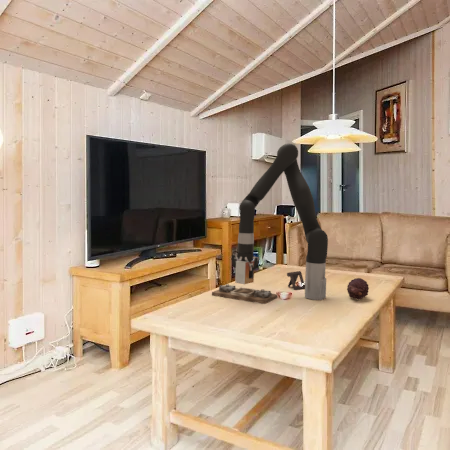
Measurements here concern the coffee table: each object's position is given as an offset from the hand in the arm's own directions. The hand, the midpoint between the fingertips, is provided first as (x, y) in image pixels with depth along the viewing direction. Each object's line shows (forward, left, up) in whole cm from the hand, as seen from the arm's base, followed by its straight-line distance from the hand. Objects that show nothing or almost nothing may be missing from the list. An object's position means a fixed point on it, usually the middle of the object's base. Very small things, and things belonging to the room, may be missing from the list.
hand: (244, 277), depth 203 cm
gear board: (0, 0, -9) cm, 9 cm away
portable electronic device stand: (-14, -32, -10) cm, 36 cm away
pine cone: (-47, -27, -10) cm, 55 cm away
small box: (0, 0, -3) cm, 3 cm away
